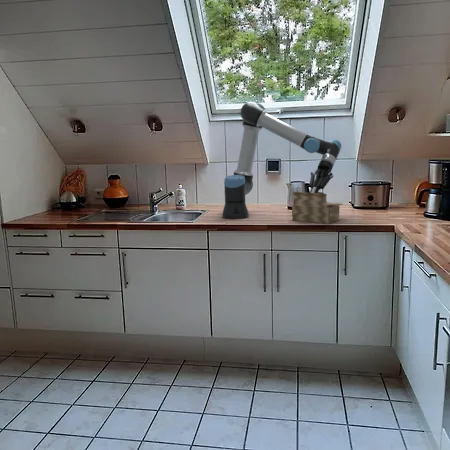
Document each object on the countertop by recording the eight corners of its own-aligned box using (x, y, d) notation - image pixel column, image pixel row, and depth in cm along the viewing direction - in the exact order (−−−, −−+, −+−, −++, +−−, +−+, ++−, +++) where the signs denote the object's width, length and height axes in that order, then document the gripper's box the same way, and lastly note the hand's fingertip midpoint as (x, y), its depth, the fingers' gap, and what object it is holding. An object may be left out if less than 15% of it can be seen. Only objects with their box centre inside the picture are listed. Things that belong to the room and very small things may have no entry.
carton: (291, 220, 242) (291, 205, 240) (308, 215, 256) (308, 201, 254) (329, 224, 228) (329, 208, 226) (345, 218, 242) (345, 203, 241)
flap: (293, 205, 238) (293, 191, 237) (293, 205, 239) (293, 191, 237) (325, 208, 227) (326, 193, 225) (326, 207, 227) (326, 193, 226)
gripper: (313, 159, 244) (297, 193, 235) (335, 159, 236) (320, 194, 227) (317, 168, 249) (302, 201, 240) (339, 169, 241) (325, 203, 232)
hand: (311, 198), depth 233 cm, fingers closed
